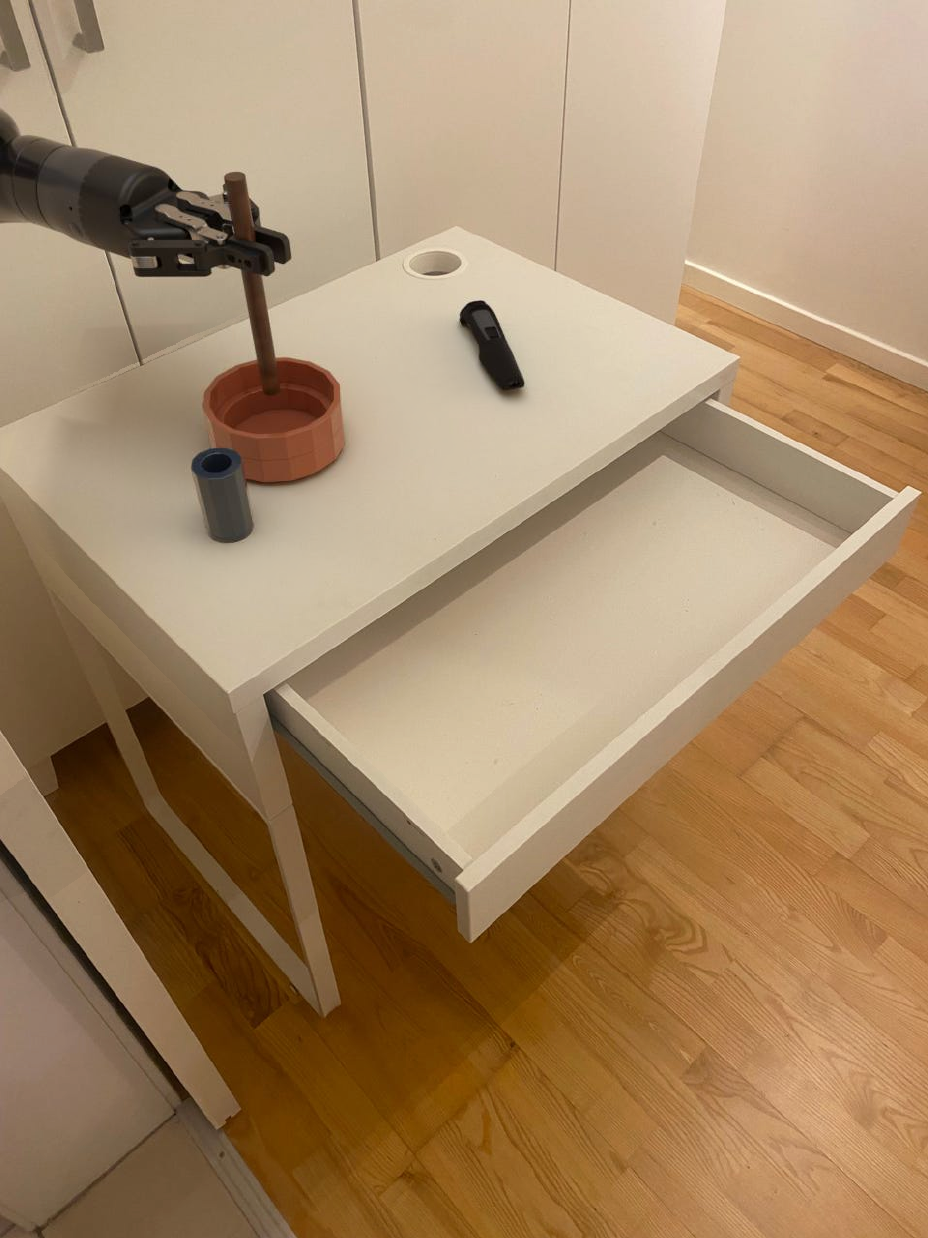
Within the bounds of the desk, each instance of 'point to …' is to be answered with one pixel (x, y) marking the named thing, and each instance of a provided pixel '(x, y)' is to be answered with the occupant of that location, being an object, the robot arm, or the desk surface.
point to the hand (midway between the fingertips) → (279, 256)
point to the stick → (253, 284)
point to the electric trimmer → (492, 345)
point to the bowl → (277, 419)
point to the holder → (223, 494)
